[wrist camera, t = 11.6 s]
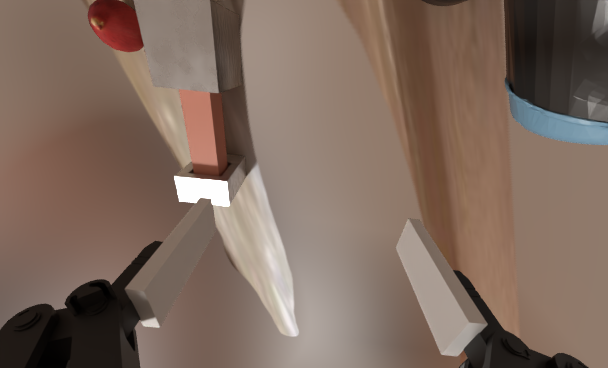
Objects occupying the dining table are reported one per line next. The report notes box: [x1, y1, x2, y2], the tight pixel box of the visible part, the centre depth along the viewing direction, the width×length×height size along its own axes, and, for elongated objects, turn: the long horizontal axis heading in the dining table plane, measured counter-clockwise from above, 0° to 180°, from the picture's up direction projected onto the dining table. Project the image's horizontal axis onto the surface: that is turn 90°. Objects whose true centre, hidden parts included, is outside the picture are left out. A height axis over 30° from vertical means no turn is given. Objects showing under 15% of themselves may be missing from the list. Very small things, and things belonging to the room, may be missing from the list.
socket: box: [174, 154, 246, 206], centre depth 38 cm, size 4×8×10 cm, turn 85°
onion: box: [88, 0, 144, 52], centre depth 29 cm, size 6×6×8 cm
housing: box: [134, 0, 242, 93], centre depth 29 cm, size 9×8×10 cm
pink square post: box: [179, 89, 228, 176], centre depth 34 cm, size 18×4×4 cm, turn 175°
